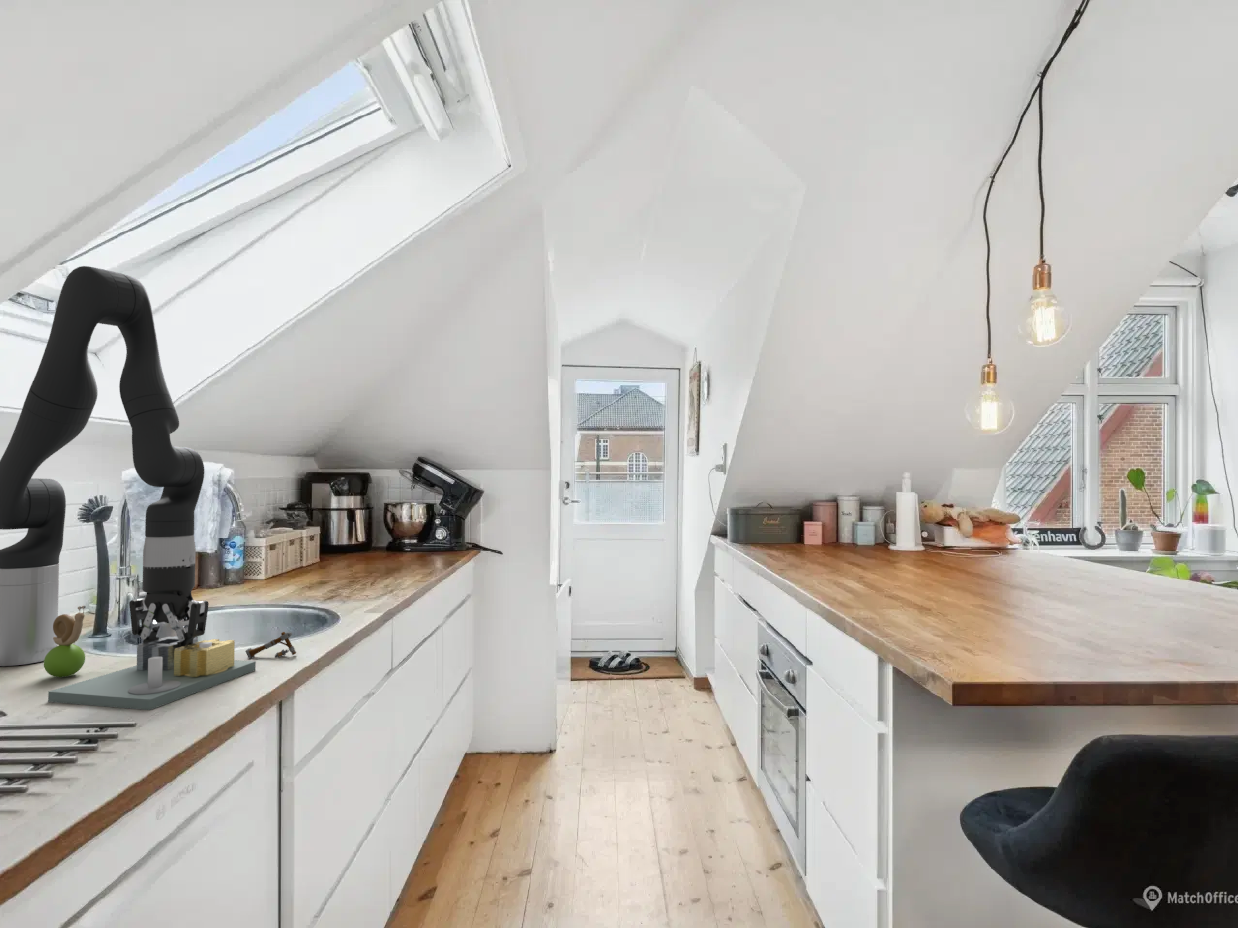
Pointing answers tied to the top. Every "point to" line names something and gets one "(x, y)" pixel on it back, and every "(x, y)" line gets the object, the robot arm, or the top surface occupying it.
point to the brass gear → (204, 658)
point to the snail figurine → (66, 646)
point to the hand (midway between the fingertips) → (167, 660)
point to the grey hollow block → (158, 652)
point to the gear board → (144, 685)
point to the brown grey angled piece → (284, 636)
